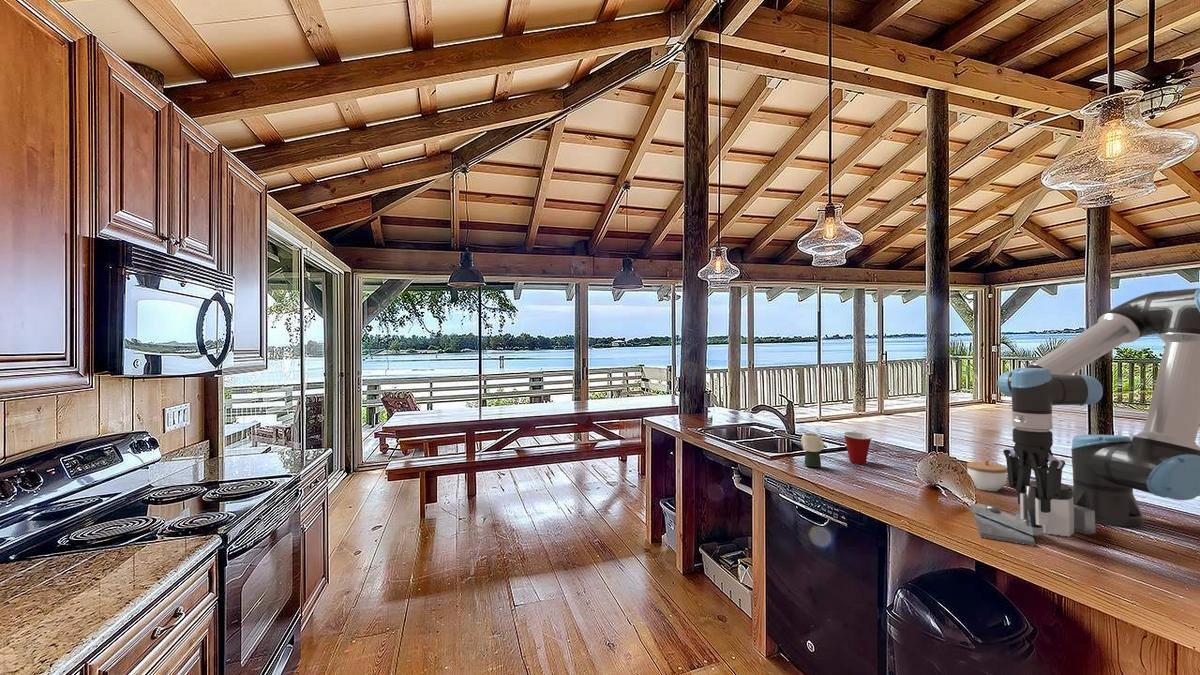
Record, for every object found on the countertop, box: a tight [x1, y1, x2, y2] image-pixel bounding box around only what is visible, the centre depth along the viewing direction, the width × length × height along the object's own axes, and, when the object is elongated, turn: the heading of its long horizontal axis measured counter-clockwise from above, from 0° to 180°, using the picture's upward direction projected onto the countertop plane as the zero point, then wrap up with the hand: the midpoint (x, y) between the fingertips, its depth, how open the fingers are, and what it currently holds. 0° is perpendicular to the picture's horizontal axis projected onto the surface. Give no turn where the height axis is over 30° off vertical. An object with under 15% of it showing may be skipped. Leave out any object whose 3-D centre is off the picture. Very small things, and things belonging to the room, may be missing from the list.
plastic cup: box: [842, 431, 873, 465], centre depth 196 cm, size 11×11×12 cm
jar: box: [1030, 480, 1075, 538], centre depth 126 cm, size 9×8×12 cm
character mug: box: [800, 432, 825, 468], centre depth 192 cm, size 11×7×13 cm, turn 24°
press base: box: [972, 511, 1036, 547], centre depth 128 cm, size 10×22×1 cm, turn 146°
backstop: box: [1073, 504, 1096, 535], centre depth 127 cm, size 3×8×6 cm, turn 8°
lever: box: [970, 484, 1045, 537], centre depth 128 cm, size 18×5×12 cm, turn 7°
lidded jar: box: [966, 460, 1008, 492], centre depth 161 cm, size 11×11×9 cm
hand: (1034, 521), depth 120 cm, fingers closed on lever, 3 cm apart
